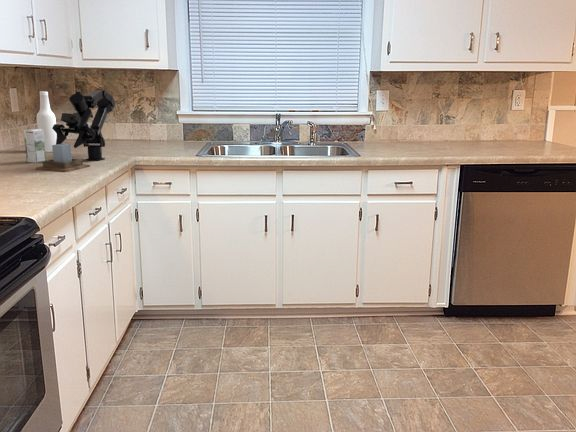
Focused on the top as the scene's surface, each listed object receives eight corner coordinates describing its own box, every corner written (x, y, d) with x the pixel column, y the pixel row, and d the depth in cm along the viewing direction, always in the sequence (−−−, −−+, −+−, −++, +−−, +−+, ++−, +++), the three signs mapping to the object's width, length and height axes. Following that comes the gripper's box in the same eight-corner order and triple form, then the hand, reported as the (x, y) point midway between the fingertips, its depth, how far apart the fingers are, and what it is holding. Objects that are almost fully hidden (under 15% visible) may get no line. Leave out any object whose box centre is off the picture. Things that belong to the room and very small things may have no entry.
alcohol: (46, 153, 258) (40, 91, 250) (36, 151, 262) (30, 91, 255) (62, 151, 265) (56, 91, 257) (52, 149, 269) (46, 91, 262)
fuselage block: (62, 164, 220) (60, 143, 217) (72, 165, 218) (70, 144, 216) (54, 166, 215) (52, 145, 213) (63, 167, 214) (61, 145, 211)
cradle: (61, 164, 226) (60, 156, 225) (90, 166, 222) (89, 159, 221) (35, 169, 212) (34, 161, 211) (65, 171, 208) (64, 164, 207)
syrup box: (36, 160, 234) (33, 128, 231) (46, 161, 232) (43, 129, 229) (26, 162, 229) (23, 129, 226) (36, 163, 227) (33, 130, 223)
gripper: (53, 105, 220) (36, 133, 213) (89, 106, 215) (73, 135, 208) (67, 122, 230) (52, 149, 222) (102, 124, 224) (87, 152, 217)
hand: (65, 146), depth 217 cm, fingers open, 9 cm apart
